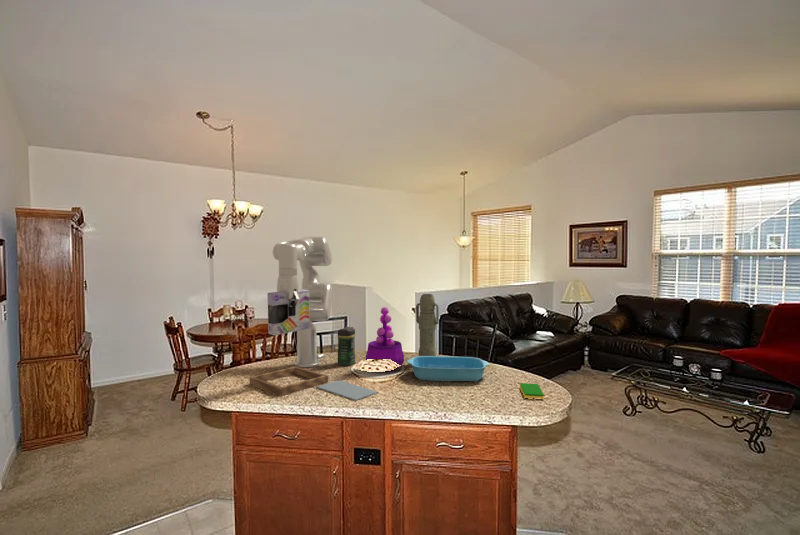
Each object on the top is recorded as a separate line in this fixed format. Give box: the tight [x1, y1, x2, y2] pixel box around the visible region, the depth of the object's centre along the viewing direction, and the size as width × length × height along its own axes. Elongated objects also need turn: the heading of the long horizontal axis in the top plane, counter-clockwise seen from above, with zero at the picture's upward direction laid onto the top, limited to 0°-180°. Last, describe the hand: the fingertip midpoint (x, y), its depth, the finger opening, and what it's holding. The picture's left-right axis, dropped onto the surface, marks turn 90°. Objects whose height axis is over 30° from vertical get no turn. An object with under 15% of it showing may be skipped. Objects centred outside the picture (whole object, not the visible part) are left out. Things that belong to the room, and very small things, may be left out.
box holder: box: [249, 365, 329, 397], centre depth 183 cm, size 24×24×3 cm
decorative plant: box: [365, 306, 405, 366], centre depth 205 cm, size 19×18×30 cm
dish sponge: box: [519, 382, 545, 399], centre depth 169 cm, size 7×14×2 cm, turn 172°
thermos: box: [415, 293, 440, 356], centre depth 217 cm, size 9×12×35 cm
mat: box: [316, 379, 379, 402], centre depth 173 cm, size 12×24×1 cm, turn 48°
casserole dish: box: [406, 355, 490, 382], centre depth 193 cm, size 37×22×7 cm, turn 87°
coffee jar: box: [337, 326, 356, 367], centre depth 215 cm, size 10×8×19 cm
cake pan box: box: [267, 289, 310, 336], centre depth 182 cm, size 19×5×18 cm, turn 137°
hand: (288, 314), depth 182 cm, fingers closed on cake pan box, 4 cm apart
